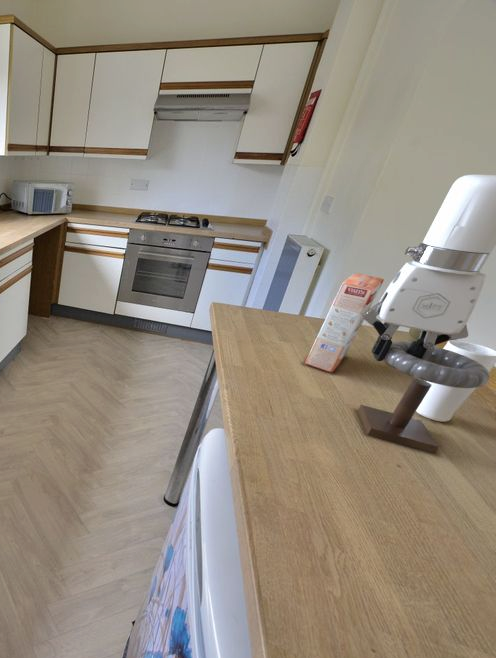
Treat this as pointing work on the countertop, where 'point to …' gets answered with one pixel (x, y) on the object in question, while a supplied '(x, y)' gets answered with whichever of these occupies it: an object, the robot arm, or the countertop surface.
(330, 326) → the cracker box
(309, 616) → the countertop surface
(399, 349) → the grey ridged ring
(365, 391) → the countertop surface
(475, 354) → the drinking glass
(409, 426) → the post
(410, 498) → the countertop surface
